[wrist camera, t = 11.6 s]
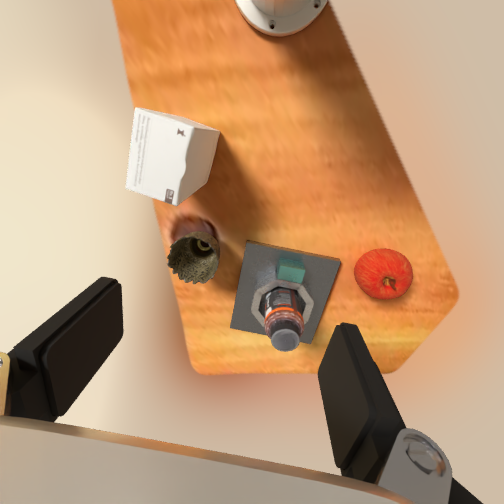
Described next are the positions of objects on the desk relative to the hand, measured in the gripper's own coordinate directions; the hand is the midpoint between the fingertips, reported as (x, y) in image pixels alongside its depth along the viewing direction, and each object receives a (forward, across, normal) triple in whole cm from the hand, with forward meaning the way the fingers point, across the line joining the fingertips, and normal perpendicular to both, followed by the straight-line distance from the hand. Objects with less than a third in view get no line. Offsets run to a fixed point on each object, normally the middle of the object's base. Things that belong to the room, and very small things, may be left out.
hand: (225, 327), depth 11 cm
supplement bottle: (+30, -8, +17) cm, 35 cm away
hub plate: (+31, -8, +17) cm, 36 cm away
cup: (+32, +7, +10) cm, 34 cm away
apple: (+32, -22, +8) cm, 39 cm away
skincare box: (+32, +10, -4) cm, 34 cm away
